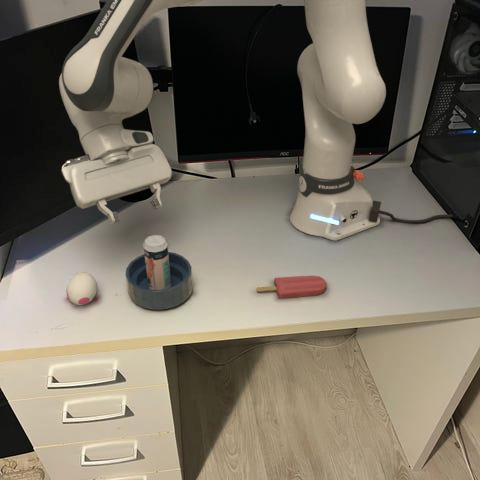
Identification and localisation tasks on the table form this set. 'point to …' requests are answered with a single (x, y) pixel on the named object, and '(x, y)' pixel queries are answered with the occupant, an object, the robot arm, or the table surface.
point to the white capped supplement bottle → (157, 262)
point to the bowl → (164, 297)
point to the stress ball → (81, 288)
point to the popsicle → (297, 286)
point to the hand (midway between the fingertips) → (137, 214)
